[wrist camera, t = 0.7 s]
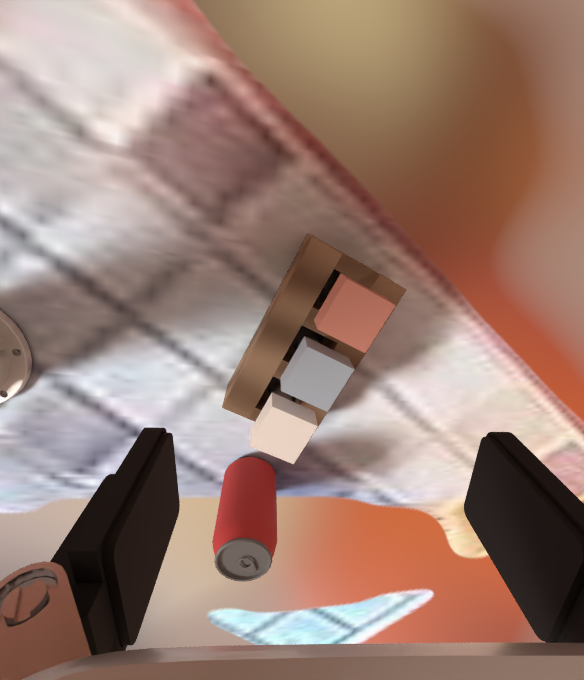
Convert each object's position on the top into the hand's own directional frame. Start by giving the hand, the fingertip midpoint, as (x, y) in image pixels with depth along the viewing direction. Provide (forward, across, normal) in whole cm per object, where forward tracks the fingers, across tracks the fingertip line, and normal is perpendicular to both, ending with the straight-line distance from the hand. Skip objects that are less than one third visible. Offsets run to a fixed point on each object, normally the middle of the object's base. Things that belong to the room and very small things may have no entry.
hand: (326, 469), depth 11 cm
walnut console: (+28, -1, +6) cm, 29 cm away
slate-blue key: (+25, -1, +6) cm, 25 cm away
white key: (+24, +1, +11) cm, 27 cm away
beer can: (+28, +5, +25) cm, 38 cm away
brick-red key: (+25, -4, 0) cm, 25 cm away
